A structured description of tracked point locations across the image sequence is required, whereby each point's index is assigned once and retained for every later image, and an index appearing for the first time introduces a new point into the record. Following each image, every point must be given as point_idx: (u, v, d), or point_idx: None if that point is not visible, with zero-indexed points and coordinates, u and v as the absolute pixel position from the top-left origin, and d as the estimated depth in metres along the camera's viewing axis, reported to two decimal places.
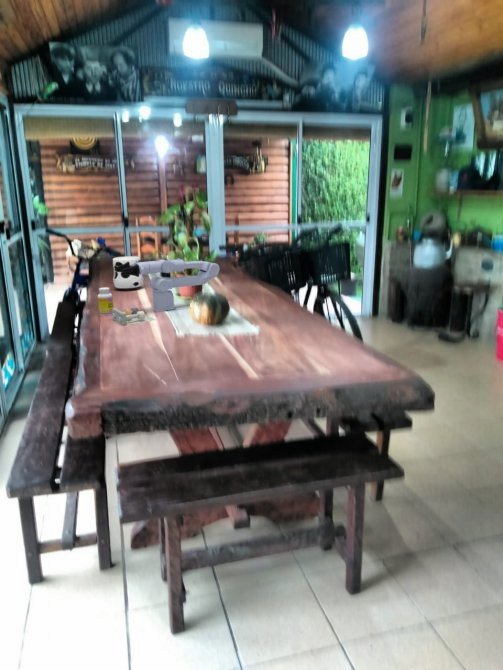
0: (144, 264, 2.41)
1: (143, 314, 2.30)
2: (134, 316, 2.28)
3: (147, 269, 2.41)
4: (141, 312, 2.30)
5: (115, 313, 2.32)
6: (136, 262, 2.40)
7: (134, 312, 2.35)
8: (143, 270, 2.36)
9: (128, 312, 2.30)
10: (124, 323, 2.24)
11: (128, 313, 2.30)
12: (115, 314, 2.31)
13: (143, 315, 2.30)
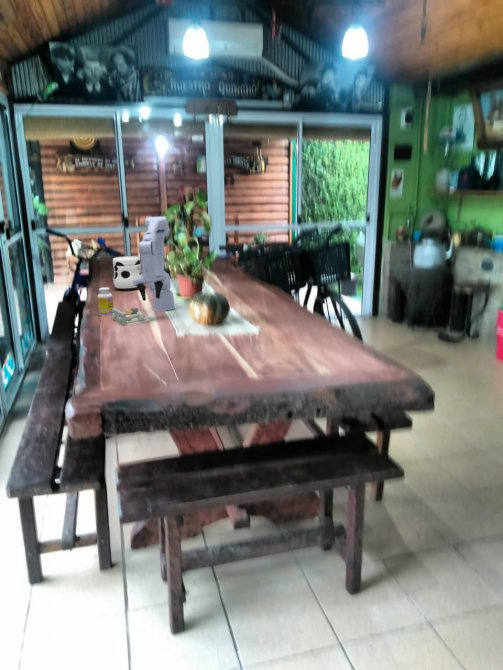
0: (154, 273, 2.28)
1: (143, 314, 2.30)
2: (134, 316, 2.28)
3: None
4: (141, 312, 2.30)
5: (115, 313, 2.32)
6: (152, 281, 2.27)
7: (134, 312, 2.35)
8: None
9: (128, 312, 2.30)
10: (124, 323, 2.24)
11: (128, 313, 2.30)
12: (115, 314, 2.31)
13: (143, 315, 2.30)
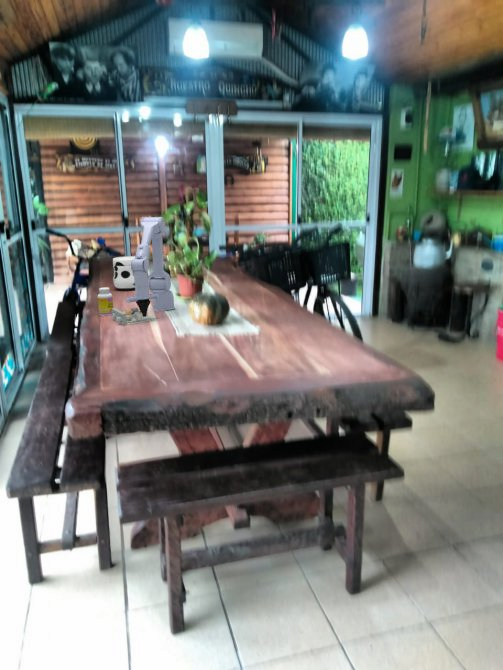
0: (148, 290, 2.28)
1: (141, 314, 2.29)
2: (132, 316, 2.28)
3: None
4: (139, 312, 2.29)
5: (115, 313, 2.32)
6: (145, 298, 2.27)
7: (134, 312, 2.35)
8: None
9: (128, 312, 2.30)
10: (124, 323, 2.24)
11: (128, 313, 2.30)
12: (115, 314, 2.31)
13: (141, 315, 2.29)
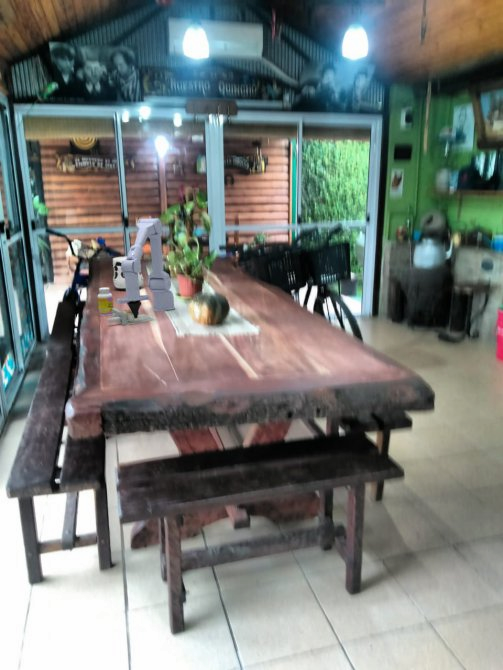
0: (138, 292, 2.26)
1: (132, 316, 2.27)
2: None
3: None
4: (130, 314, 2.27)
5: (115, 313, 2.32)
6: (136, 300, 2.25)
7: None
8: None
9: (128, 312, 2.30)
10: (124, 323, 2.24)
11: None
12: (115, 314, 2.31)
13: (132, 317, 2.27)
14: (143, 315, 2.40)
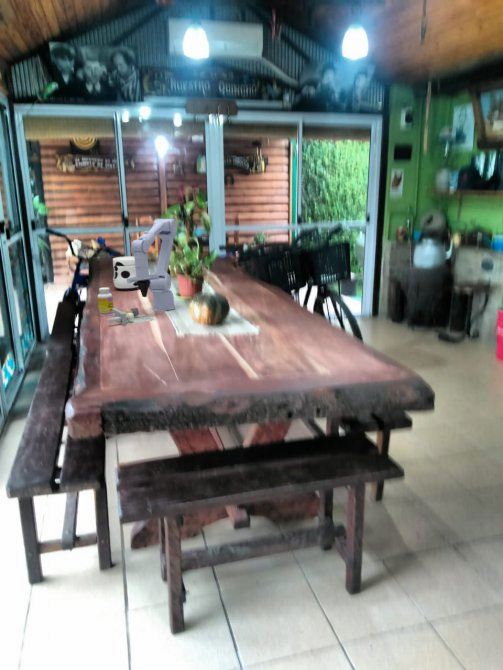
0: (148, 271, 2.34)
1: (132, 316, 2.27)
2: None
3: None
4: (130, 314, 2.27)
5: (115, 313, 2.32)
6: (145, 279, 2.33)
7: (134, 312, 2.35)
8: None
9: (128, 312, 2.30)
10: (124, 323, 2.24)
11: None
12: (115, 314, 2.31)
13: (132, 317, 2.27)
14: (143, 315, 2.40)
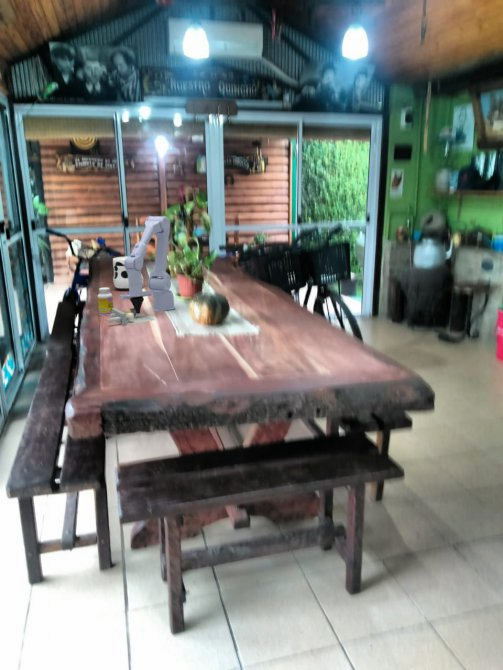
0: (141, 288, 2.34)
1: (132, 316, 2.27)
2: None
3: None
4: (130, 314, 2.27)
5: (113, 313, 2.31)
6: (139, 295, 2.33)
7: (132, 312, 2.34)
8: None
9: (128, 312, 2.30)
10: (124, 323, 2.24)
11: None
12: (113, 314, 2.31)
13: (132, 317, 2.27)
14: (143, 315, 2.40)
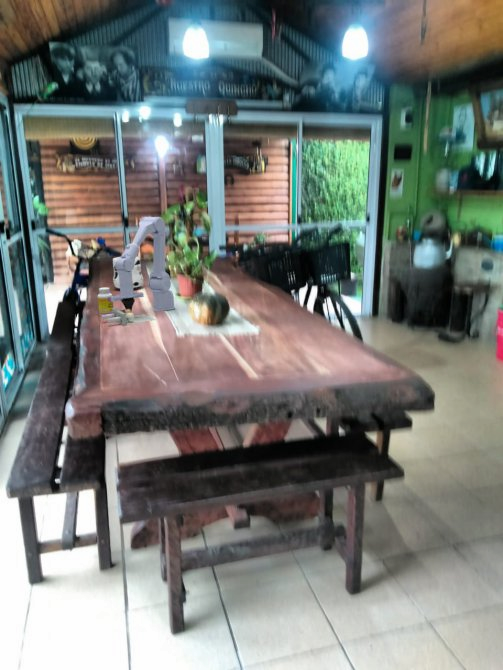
0: (132, 289, 2.32)
1: (132, 316, 2.27)
2: None
3: None
4: (130, 314, 2.27)
5: (104, 315, 2.29)
6: None
7: None
8: None
9: (128, 312, 2.30)
10: (124, 323, 2.24)
11: None
12: (104, 316, 2.29)
13: (132, 317, 2.27)
14: (143, 315, 2.40)
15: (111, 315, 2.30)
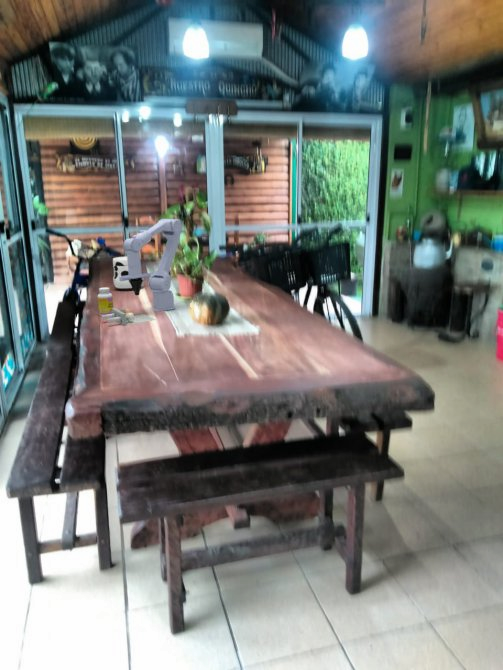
0: (140, 269, 2.35)
1: (132, 316, 2.27)
2: None
3: None
4: (130, 314, 2.27)
5: (104, 315, 2.29)
6: None
7: None
8: None
9: (128, 312, 2.30)
10: (124, 323, 2.24)
11: None
12: (104, 316, 2.29)
13: (132, 317, 2.27)
14: (143, 315, 2.40)
15: (111, 315, 2.30)
